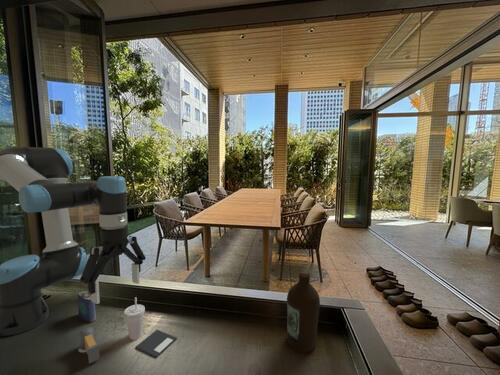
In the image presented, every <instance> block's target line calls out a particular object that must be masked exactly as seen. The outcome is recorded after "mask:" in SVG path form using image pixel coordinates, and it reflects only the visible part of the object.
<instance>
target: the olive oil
mask: <svg viewBox="0 0 500 375" xmlns="http://www.w3.org/2000/svg"><path fill="white" fill-rule="evenodd" d="M310 277H311V276H310V271H309V270H308V269H305V268H304V269H300V270H299V274H298V281H297V282H296V283H295V284H294V285H292V286H291V287H290V288H289V290H288V292H287V296H286V315H287V316H286V323H287V324H286V326H287V327H286V328H287V329H286V333H287V334H286V340H287V344H288V346H289V347H290V348H291V349H292V350H294V351H296V352H299V353H305V354H307V353H310V352H312V351H314V350H315V348H316V344H317V336H318V335H317V334H318V323H319V316H320V307H321V306H320V305H321V300H320V298H321V297H320V296H319V292H318V291H317V290H316V288H315V287H314V286H313V285H312V284H311V283H310Z"/></svg>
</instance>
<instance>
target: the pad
mask: <svg viewBox="0 0 500 375" xmlns="http://www.w3.org/2000/svg"><path fill="white" fill-rule="evenodd" d="M177 340H178V337H176V336H174V335H171V334H169V333H166V332H164V331H162V330H159V329H156V330H154V331H153V332H152V333H151V334H150V335H148V336H147V337H146V338H145V339H143V340H142V341H141V342H139V343H138V344H137V345H136V346H135V349H137V350H139V351H141V352H143V353H145V354H148V355H149V356H152V357H153V358H155V359H157V358H159V357H160V355H162V354H163V353H164V352H165V351H166V350H167V349H168V348H169V347H171V345H172V344H173V343H174V342H176V341H177Z"/></svg>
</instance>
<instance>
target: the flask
mask: <svg viewBox="0 0 500 375" xmlns="http://www.w3.org/2000/svg"><path fill="white" fill-rule="evenodd" d="M77 303H78V304H77V305H78V307H77V308H78V318H79V319H80V320H83V321H85V322H87V323H94V322H96V320H97V314H96V313H97V312H96V303H93V302H92V299H91V295H90V294H89V292H88V290H87V291H86V290H83V291H80V292H78V293H77Z"/></svg>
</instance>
